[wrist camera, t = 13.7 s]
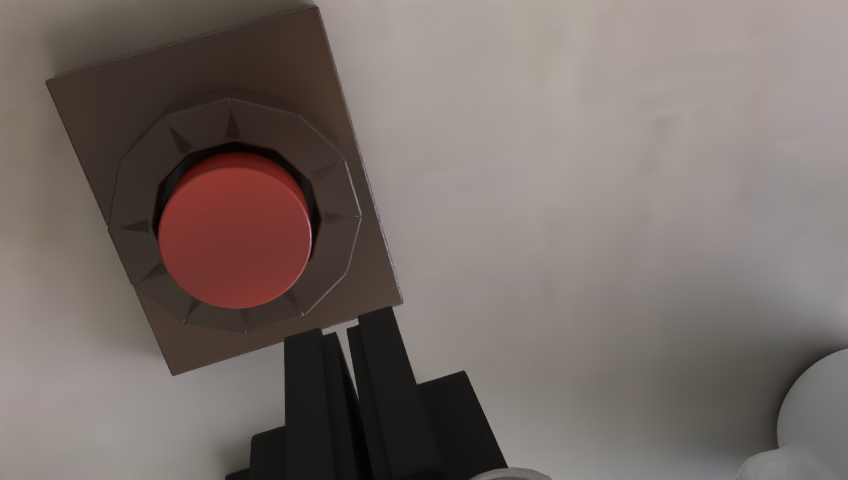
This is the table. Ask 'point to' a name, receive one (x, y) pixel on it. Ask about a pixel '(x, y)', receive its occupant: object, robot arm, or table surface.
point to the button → (235, 230)
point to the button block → (227, 132)
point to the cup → (809, 428)
